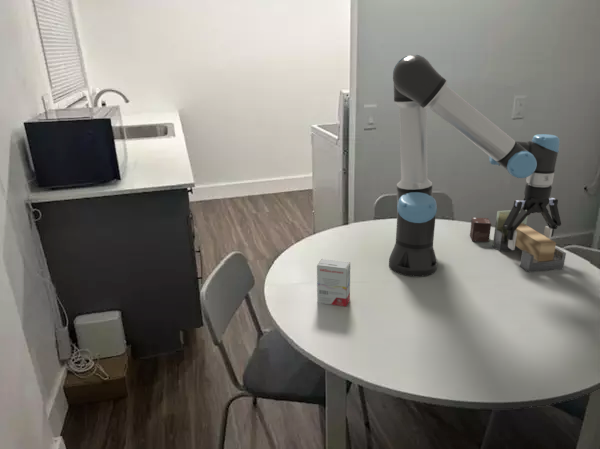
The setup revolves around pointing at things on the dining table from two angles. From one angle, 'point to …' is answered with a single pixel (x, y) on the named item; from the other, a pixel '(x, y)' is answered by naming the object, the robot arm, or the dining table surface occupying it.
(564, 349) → the dining table surface
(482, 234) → the box
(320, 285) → the ink box
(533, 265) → the rest saddle
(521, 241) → the light wood long block
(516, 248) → the cup bracket
